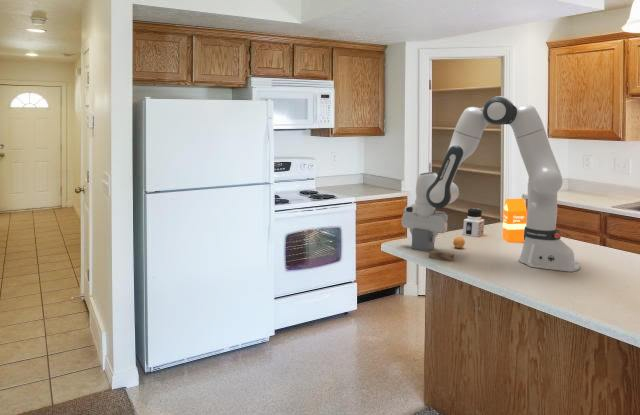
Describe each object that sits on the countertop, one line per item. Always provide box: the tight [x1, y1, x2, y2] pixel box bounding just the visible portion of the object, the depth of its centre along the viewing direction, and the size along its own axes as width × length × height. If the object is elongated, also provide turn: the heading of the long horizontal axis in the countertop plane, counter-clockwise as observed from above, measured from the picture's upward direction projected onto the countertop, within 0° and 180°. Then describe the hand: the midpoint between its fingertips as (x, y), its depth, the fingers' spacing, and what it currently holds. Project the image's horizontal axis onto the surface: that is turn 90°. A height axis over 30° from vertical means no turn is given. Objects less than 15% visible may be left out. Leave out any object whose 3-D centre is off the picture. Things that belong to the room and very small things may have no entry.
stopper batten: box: [428, 250, 455, 262], centre depth 216 cm, size 10×2×2 cm, turn 56°
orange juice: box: [502, 198, 527, 243], centre depth 250 cm, size 8×9×20 cm
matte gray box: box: [411, 229, 435, 252], centre depth 232 cm, size 7×7×9 cm
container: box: [462, 207, 485, 238], centre depth 261 cm, size 8×8×13 cm
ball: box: [452, 236, 466, 249], centre depth 234 cm, size 5×5×5 cm
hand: (423, 240), depth 232 cm, fingers closed on matte gray box, 7 cm apart
